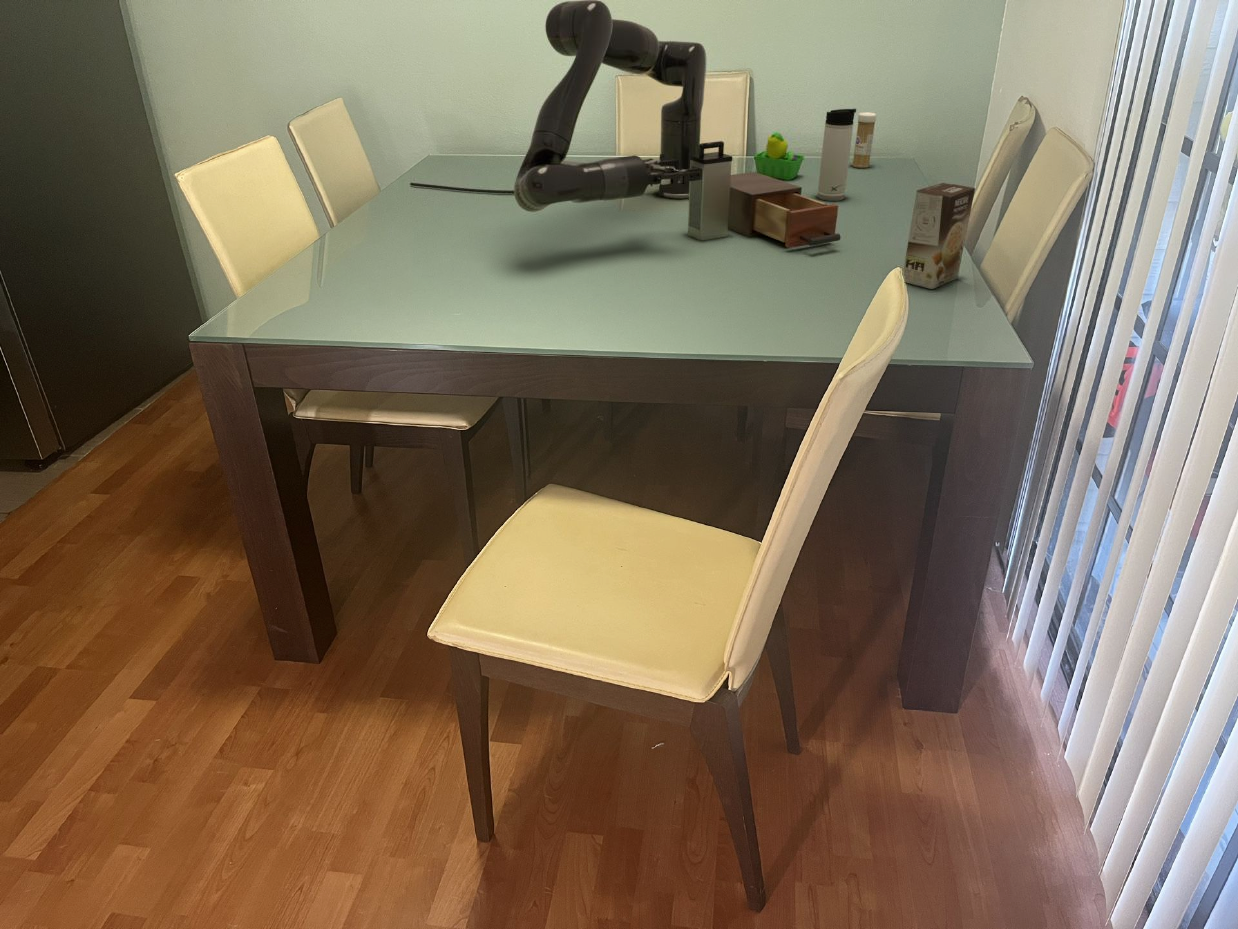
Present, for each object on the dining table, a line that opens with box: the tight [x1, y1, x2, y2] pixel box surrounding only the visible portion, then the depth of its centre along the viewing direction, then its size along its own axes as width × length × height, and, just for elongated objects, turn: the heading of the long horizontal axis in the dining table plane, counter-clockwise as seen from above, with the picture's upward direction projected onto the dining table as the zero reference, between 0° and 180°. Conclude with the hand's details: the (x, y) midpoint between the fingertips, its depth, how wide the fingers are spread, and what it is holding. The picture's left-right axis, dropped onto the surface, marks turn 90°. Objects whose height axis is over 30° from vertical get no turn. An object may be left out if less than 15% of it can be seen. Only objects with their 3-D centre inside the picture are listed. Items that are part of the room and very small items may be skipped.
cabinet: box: [728, 171, 803, 238], centre depth 191 cm, size 17×13×9 cm
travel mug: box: [816, 108, 857, 202], centre depth 207 cm, size 6×7×20 cm
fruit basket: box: [753, 131, 805, 181], centre depth 228 cm, size 11×9×11 cm
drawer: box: [753, 193, 842, 249], centre depth 180 cm, size 20×11×7 cm, turn 29°
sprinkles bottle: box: [851, 111, 877, 169], centre depth 237 cm, size 5×5×14 cm
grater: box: [687, 140, 733, 242], centre depth 181 cm, size 5×7×18 cm
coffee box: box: [902, 182, 976, 290], centre depth 157 cm, size 9×6×16 cm
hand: (689, 169), depth 176 cm, fingers open, 8 cm apart
